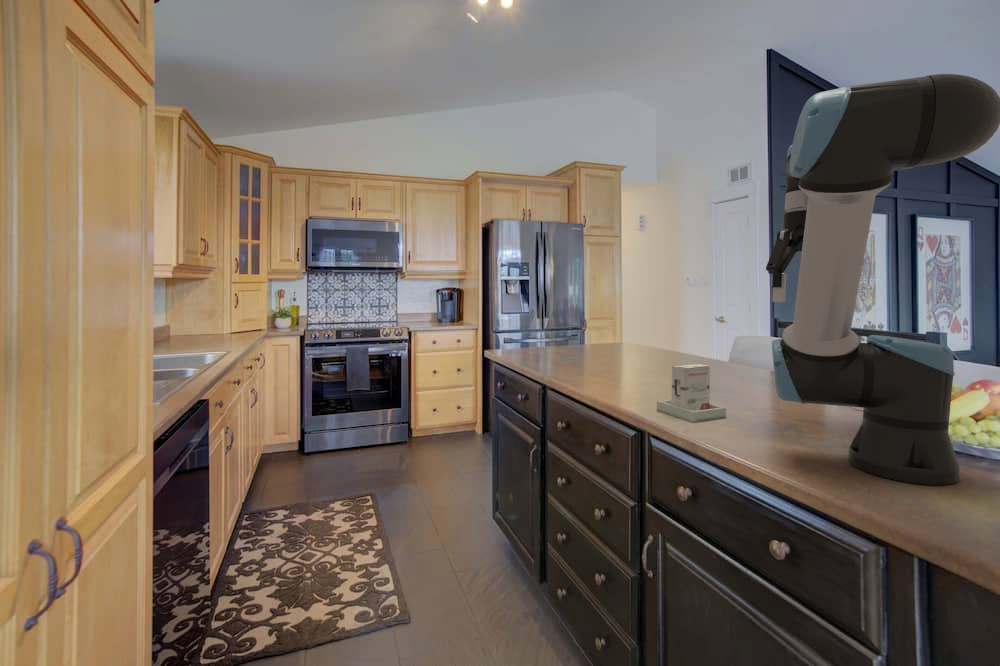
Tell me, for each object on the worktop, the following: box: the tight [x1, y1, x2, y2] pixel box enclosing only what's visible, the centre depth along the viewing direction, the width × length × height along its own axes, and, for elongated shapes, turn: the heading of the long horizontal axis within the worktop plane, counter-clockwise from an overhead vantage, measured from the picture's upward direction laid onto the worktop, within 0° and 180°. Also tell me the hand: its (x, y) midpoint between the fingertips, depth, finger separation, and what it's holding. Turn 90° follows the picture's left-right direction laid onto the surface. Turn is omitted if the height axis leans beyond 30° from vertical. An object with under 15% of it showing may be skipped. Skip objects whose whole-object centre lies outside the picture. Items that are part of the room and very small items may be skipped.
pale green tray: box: [656, 399, 727, 423], centre depth 125 cm, size 13×11×2 cm
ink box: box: [671, 363, 711, 411], centre depth 124 cm, size 9×5×12 cm, turn 116°
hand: (797, 301), depth 117 cm, fingers open, 13 cm apart
